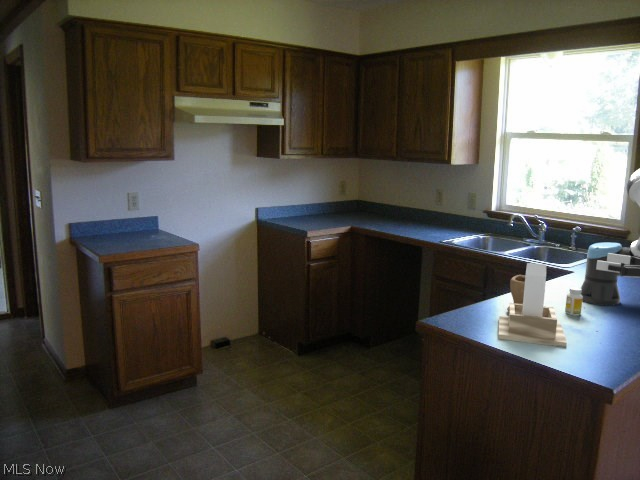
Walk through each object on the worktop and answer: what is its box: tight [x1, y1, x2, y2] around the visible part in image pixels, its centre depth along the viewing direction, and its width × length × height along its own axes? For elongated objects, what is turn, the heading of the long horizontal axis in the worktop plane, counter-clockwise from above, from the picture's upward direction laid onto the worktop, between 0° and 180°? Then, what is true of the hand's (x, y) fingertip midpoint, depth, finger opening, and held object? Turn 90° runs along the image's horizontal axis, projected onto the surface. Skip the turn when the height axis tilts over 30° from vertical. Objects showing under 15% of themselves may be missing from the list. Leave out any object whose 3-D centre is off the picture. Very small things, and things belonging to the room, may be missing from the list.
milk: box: [522, 262, 547, 317], centre depth 178 cm, size 6×6×22 cm
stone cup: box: [506, 274, 526, 313], centre depth 196 cm, size 15×12×15 cm
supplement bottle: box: [564, 286, 583, 317], centre depth 200 cm, size 5×5×10 cm
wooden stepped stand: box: [497, 302, 567, 348], centre depth 179 cm, size 20×20×8 cm
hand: (602, 260), depth 171 cm, fingers open, 13 cm apart
